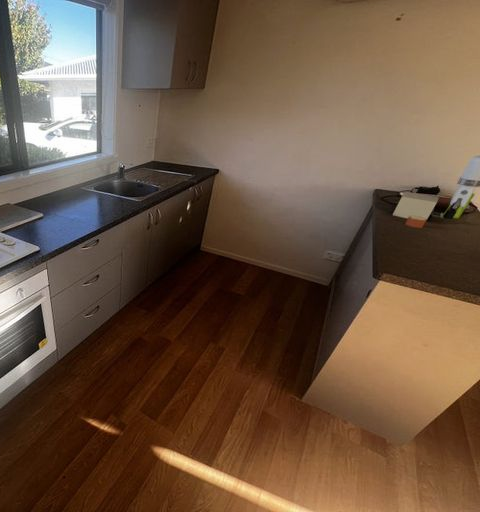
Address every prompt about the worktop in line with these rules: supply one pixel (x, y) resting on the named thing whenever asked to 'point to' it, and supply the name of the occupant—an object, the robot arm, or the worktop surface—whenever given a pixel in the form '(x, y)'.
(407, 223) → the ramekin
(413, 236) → the worktop surface
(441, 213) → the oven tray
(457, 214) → the soap dispenser
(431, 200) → the cream box
